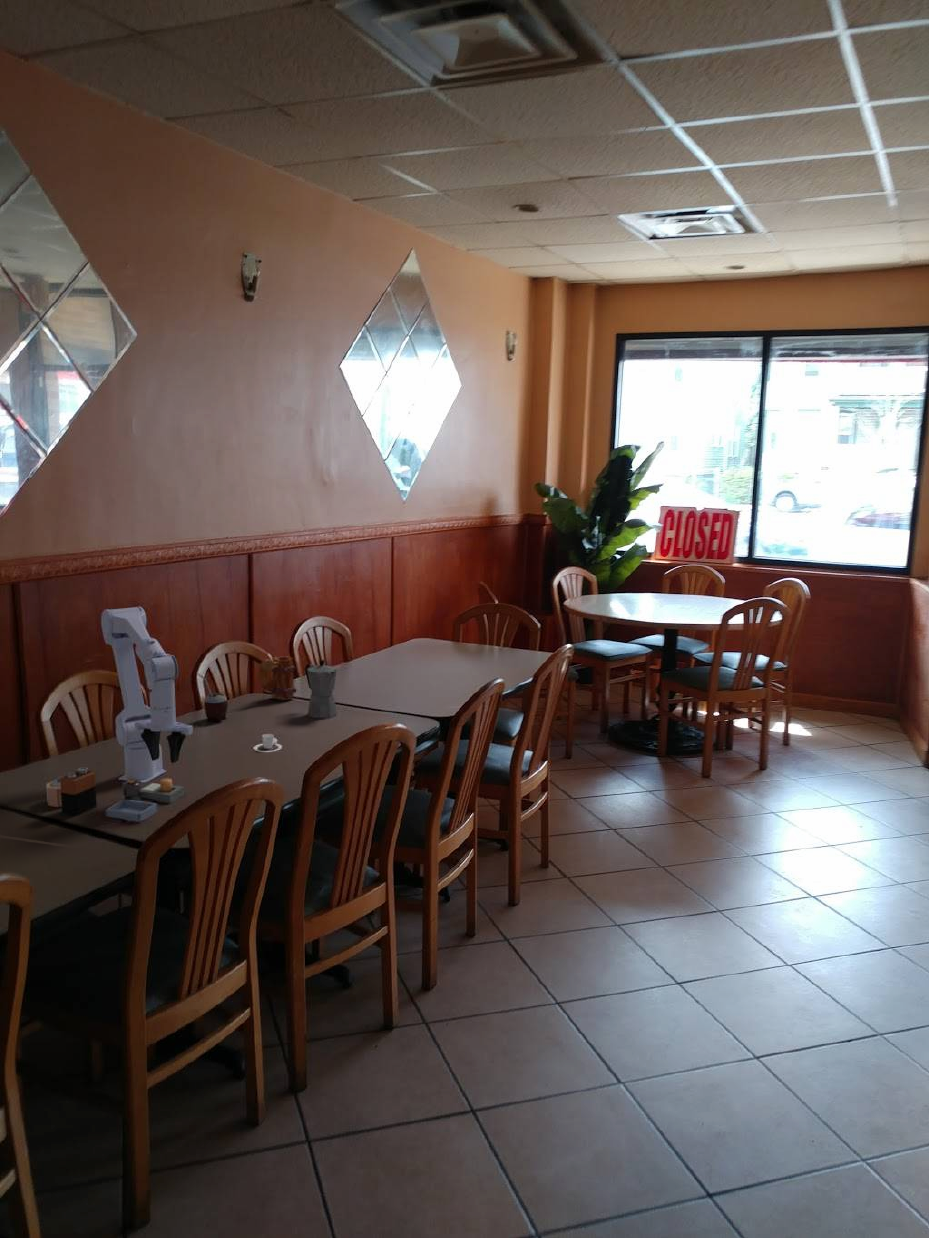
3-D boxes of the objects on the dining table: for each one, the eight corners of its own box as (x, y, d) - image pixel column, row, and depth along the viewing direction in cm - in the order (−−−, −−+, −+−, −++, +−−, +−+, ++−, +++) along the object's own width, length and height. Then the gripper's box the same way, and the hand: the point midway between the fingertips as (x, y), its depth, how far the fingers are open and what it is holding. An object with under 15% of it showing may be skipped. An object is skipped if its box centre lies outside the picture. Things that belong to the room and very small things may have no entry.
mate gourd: (231, 721, 291) (230, 674, 289) (207, 725, 287) (205, 677, 284) (222, 715, 297) (220, 669, 295) (198, 719, 293) (196, 672, 290)
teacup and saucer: (269, 742, 273) (268, 728, 272) (289, 747, 269) (289, 733, 268) (247, 750, 266) (247, 736, 265) (268, 755, 262) (268, 741, 261)
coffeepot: (346, 716, 299) (346, 661, 295) (322, 721, 292) (321, 665, 289) (318, 706, 310) (317, 653, 306) (294, 711, 303) (293, 657, 300)
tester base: (184, 794, 231) (184, 785, 230) (170, 803, 225) (170, 794, 224) (152, 790, 233) (151, 781, 232) (137, 798, 227) (137, 790, 227)
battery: (97, 808, 221) (95, 767, 219) (75, 818, 215) (73, 777, 213) (83, 805, 223) (81, 765, 221) (61, 815, 217) (58, 774, 215)
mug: (285, 694, 324) (284, 651, 321) (301, 698, 319) (301, 655, 316) (252, 702, 312) (251, 658, 309) (269, 707, 307) (268, 662, 305)
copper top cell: (129, 799, 227) (128, 776, 226) (144, 801, 226) (143, 777, 224) (119, 805, 223) (118, 781, 222) (134, 807, 222) (133, 783, 221)
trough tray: (124, 807, 222) (123, 799, 222) (157, 811, 220) (157, 803, 219) (105, 818, 215) (105, 809, 215) (139, 822, 213) (139, 814, 213)
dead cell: (61, 797, 226) (59, 773, 225) (75, 799, 225) (73, 775, 224) (49, 803, 222) (48, 779, 221) (64, 805, 221) (62, 781, 220)
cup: (60, 797, 227) (59, 777, 226) (83, 800, 226) (81, 780, 225) (42, 806, 221) (40, 786, 220) (65, 809, 220) (64, 789, 219)
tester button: (164, 789, 230) (164, 777, 229) (174, 790, 229) (174, 779, 229) (158, 793, 227) (157, 781, 227) (168, 794, 227) (167, 783, 226)
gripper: (126, 707, 222) (128, 762, 225) (180, 713, 219) (182, 768, 221) (143, 700, 229) (146, 753, 231) (196, 705, 225) (198, 759, 228)
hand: (165, 760), depth 227 cm, fingers open, 5 cm apart
